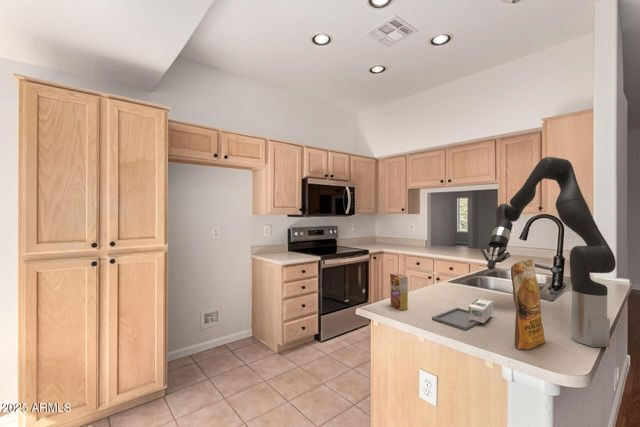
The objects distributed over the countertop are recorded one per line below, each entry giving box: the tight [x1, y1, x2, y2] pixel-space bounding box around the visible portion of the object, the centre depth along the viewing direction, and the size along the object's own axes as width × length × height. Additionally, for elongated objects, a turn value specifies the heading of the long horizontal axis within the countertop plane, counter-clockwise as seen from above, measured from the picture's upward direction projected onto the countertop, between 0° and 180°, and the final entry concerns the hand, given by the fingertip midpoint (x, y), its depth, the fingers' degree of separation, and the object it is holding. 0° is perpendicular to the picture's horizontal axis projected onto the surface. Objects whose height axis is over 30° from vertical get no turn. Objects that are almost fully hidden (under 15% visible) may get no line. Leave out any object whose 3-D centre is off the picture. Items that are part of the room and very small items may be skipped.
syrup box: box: [468, 297, 494, 324], centre depth 125 cm, size 6×6×14 cm
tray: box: [431, 307, 490, 331], centre depth 126 cm, size 20×14×1 cm
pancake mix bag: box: [510, 259, 546, 351], centre depth 103 cm, size 7×19×28 cm, turn 121°
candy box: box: [389, 272, 409, 311], centre depth 141 cm, size 9×4×15 cm, turn 17°
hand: (490, 268), depth 139 cm, fingers closed
